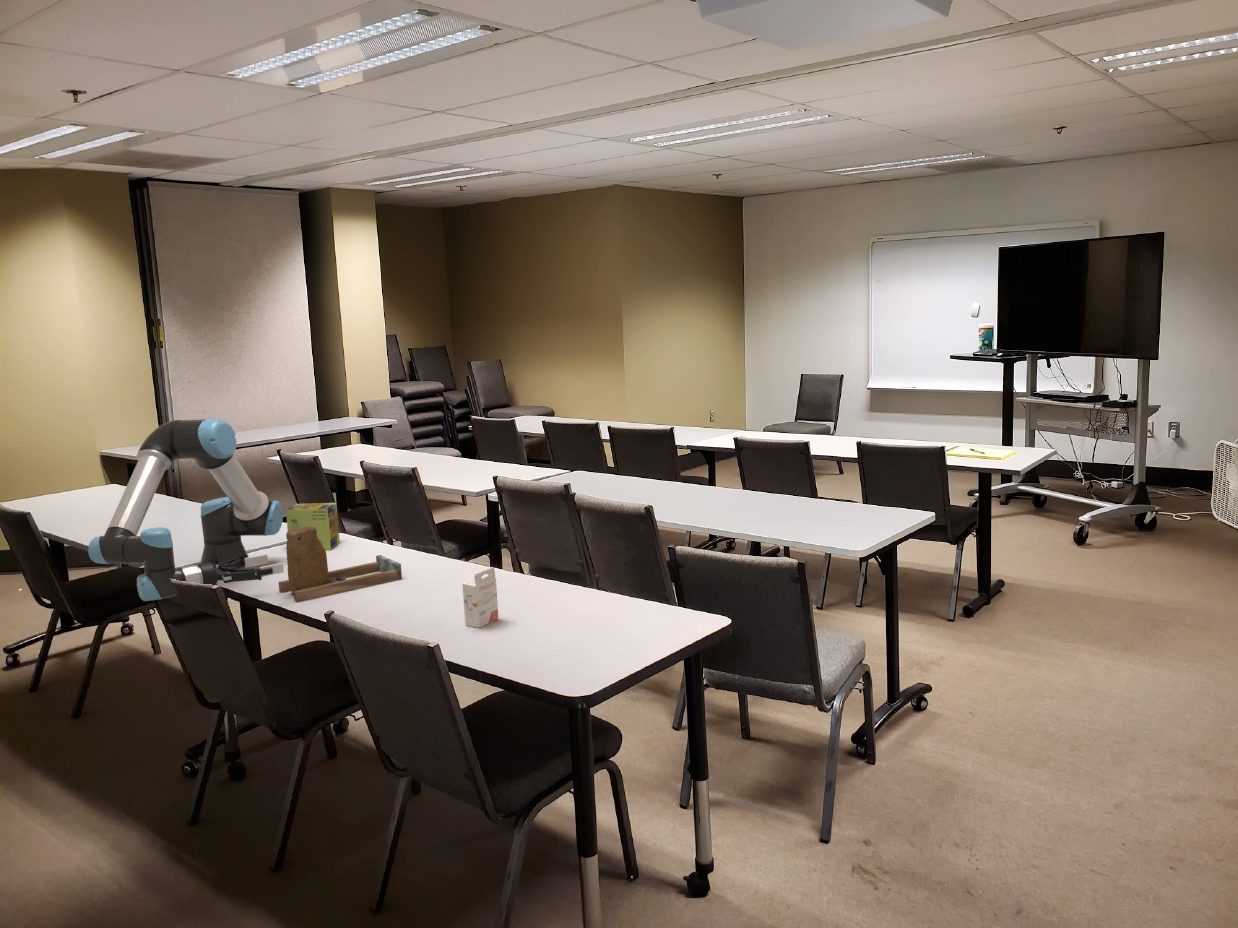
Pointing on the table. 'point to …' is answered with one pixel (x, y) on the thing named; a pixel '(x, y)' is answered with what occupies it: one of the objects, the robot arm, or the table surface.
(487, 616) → the ink cartridge box
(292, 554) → the block
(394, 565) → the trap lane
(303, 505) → the protein box
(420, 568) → the table surface
